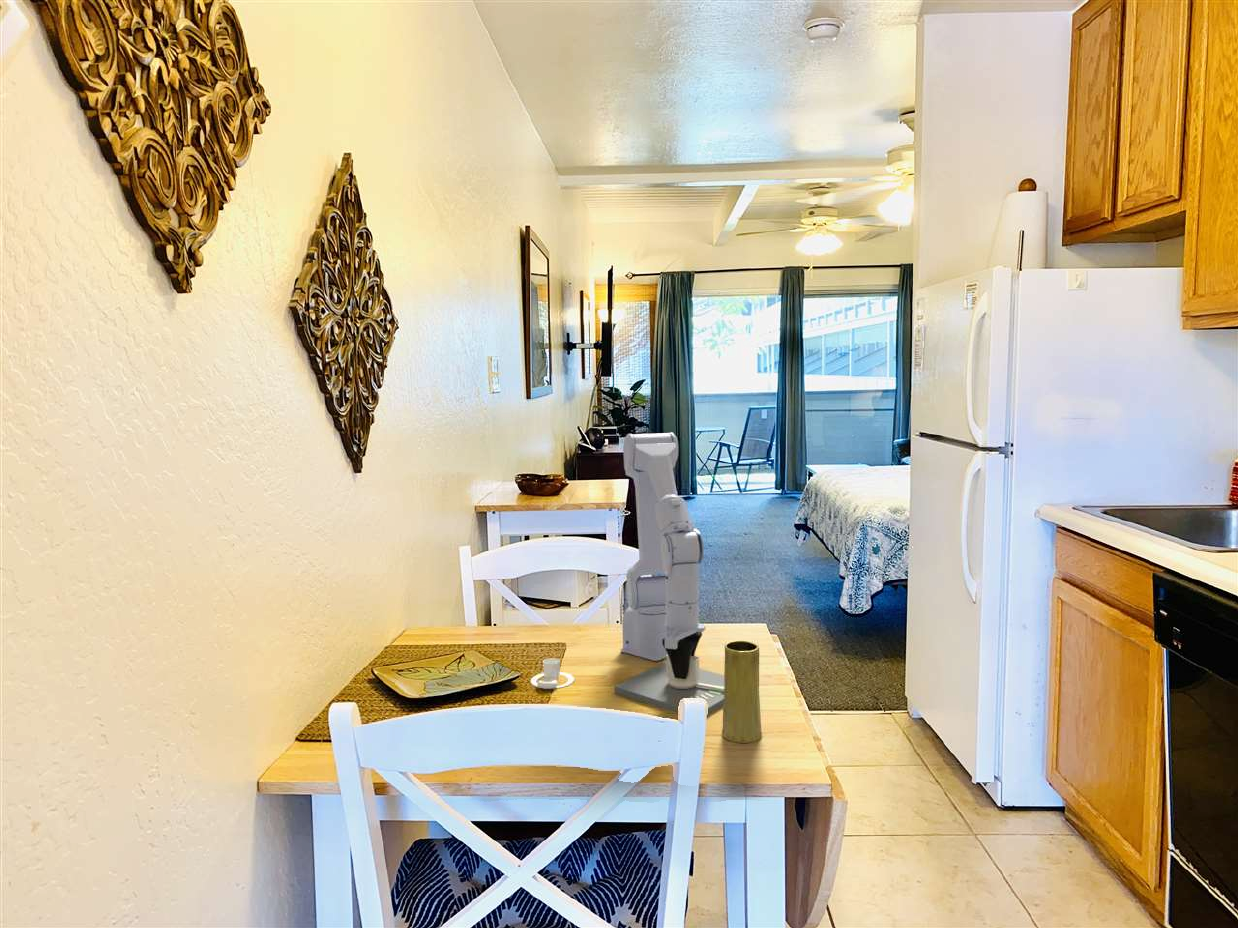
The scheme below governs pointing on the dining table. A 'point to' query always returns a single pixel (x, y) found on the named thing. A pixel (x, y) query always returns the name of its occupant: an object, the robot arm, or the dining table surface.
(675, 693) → the dial board
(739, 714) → the vase
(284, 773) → the dining table surface
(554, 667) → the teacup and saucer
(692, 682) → the knob
